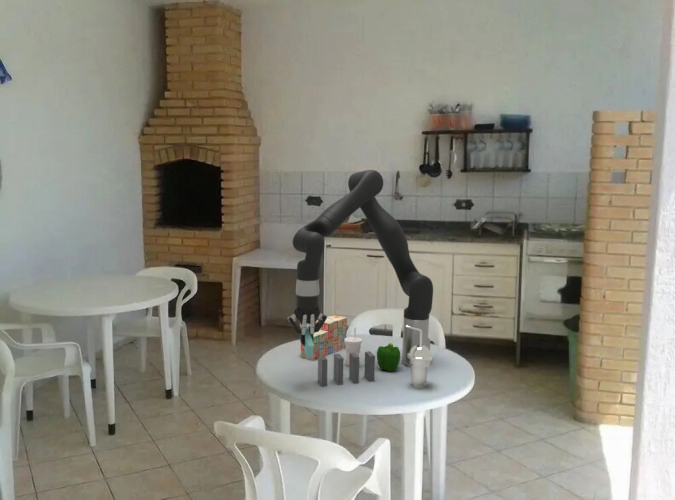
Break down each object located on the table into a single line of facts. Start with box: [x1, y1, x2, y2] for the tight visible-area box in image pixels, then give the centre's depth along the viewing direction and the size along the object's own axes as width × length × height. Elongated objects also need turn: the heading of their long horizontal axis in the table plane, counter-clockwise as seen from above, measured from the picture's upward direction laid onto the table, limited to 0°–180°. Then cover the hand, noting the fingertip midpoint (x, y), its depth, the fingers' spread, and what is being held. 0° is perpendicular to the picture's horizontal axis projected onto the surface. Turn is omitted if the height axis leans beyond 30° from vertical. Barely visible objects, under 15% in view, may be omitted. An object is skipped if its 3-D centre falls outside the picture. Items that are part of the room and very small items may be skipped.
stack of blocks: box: [300, 314, 348, 361], centre depth 245 cm, size 21×6×12 cm, turn 145°
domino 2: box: [317, 355, 328, 387], centre depth 212 cm, size 2×5×9 cm, turn 17°
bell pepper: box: [376, 342, 401, 372], centre depth 227 cm, size 8×8×10 cm
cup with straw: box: [406, 325, 434, 389], centre depth 211 cm, size 8×9×20 cm
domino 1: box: [303, 326, 314, 358], centre depth 208 cm, size 2×5×9 cm
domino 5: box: [363, 351, 376, 383], centre depth 217 cm, size 2×5×9 cm, turn 17°
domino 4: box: [348, 353, 360, 384], centre depth 215 cm, size 2×5×9 cm, turn 17°
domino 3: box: [332, 353, 344, 386], centre depth 213 cm, size 2×5×9 cm, turn 17°
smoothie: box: [344, 327, 363, 367], centre depth 230 cm, size 6×6×14 cm
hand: (306, 344), depth 209 cm, fingers closed on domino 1, 1 cm apart
